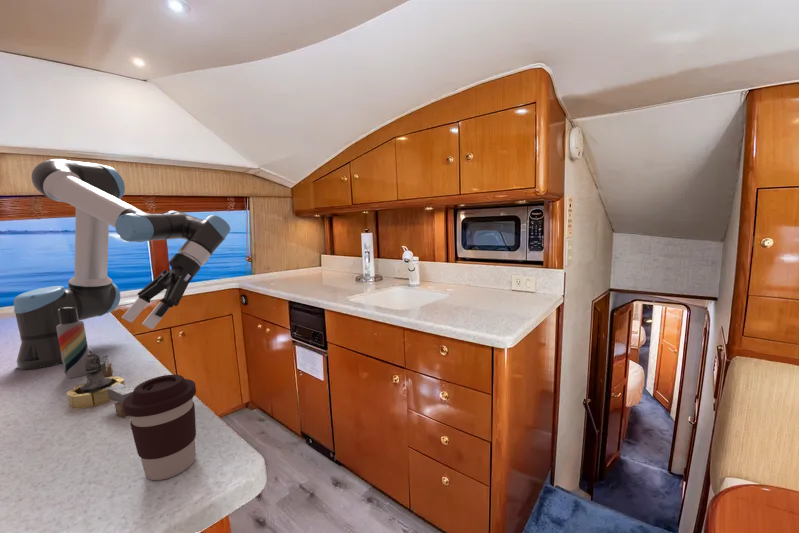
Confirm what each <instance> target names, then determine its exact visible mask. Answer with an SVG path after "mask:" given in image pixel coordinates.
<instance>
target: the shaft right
mask: <svg viewBox="0 0 799 533" xmlns="http://www.w3.org/2000/svg"><path fill="white" fill-rule="evenodd" d="M134 389H135V388H131V387H130V386H127V385H126V384H125V385H123V384H120V383H119V384H116V385H113V386H111V387H108V388H107V391H108V397H109V398H110V399H112V400H111V401H115V403H113V404H114V408H115V414H116V416H117V417H119V418H121V419H125V418H127V417H129V416H128V415H126V414H125V413H124V409H123V401H124V400H125V398H126V397H128V396H129V395H130V394H132V393H133V391H134Z"/></svg>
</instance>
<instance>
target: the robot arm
mask: <svg viewBox="0 0 799 533" xmlns="http://www.w3.org/2000/svg"><path fill="white" fill-rule="evenodd" d="M30 177H31V183H32V185H33V186H34V188H35V189H36V191H38V192H39V193H40V194H41V195H44V197H47V198H49V199H51V200H52V201H56V202H59V203H66V204H68V205H71V206H72V207H73V208H75V222H74V223H75V227H74V228H75V231H74V232H75V235H74V237H75V238H74V240H75V241H74V276H73V277H72V278H70V279H69V280H68V287H67V288H65V287H64V286H62V285H53V286H46V287H39V288H36V289H32V290H28V291H26V292H22V293H20V294H18V295H17V296H15V298H14V299H13V308H14V309H13V311H14V313H15V318H16V322H17V328H18V331H19V337H20V347H19V351H18V354H17V358H16V365H17V366H16V367H17V369H19V370H35V369H41V368H46V367H52V366H55V365H59V364H63V362H62V356H61V351H60V345H59V340H58V334H57V328H56V326H57V325H59V324H61V323H60V318H59V313H58V310H59V309H60V308H64V307H76V308H77V313H78V319H79V321H83V320H84V321H85V320H87V319H91V318H96V317H102V316H104V315H106V314H108V313H109V314H110V313H112V312H113V311H114V310H116V309H117V308H118V307H119V305H120V302H121V291H120V290H119V287H118V286H117V284H115V283H114V282H113V279H112V278H111V277H109V276H108V263H109V262H108V260H109V236H110V235H109V231H110V229H109V227H110V226H111V227H113V228H115V231H116V234H117V235H119V237H120V238H121V239H122V240H123V241H125V242H129V243H130V242H131V243H132V242H136V243H143V242H151V241H163V240H176V239H177V240H178V239H179V240H181V239H182V240H186V241H185V242H184V243H183V245H182V246H181V247H180V248H179V249H178V251H177V253H175V254H174V255H173V256H172V258H170V260H169V261H168V265H169V266H170V267H171V269H170V270H169V271H168V270H166V269H164V270H162V271H161V272H160V274H158V276H156V277H155V278H154V279H153V280H152V281H151V282H149V283H148V284H147V285H146V286H145V287H143V288H142V289H141V290H139V292H138V293H137V296H138V298H137V299H136V300H135V301H134V302H133V304H132V305H130V307H129V308H128V309H127V310H126V311H125V312H124V314H123V315H122V316H121V318H122V319H124V320H125V321H127V322H129V323H133V322H134V321H135V319H137V317H138V316H139V315H140V314H141V313H142V312H143V310H144V309H145V308H146V307H147V305H149V304H150V303H151V300H152V299H153V298H154V297H156V296H158V295H159V294H161V293H162V292H163V291H164V290H166V291H165V293H164V296H163V298H161V299H159V303H157V304H156V306H155V307H154V308H153V309H152V311H151V312H149V314H148V315H147V317H146V318H145V319H144V320H143V322H141V325H142V326H145V327H146V328H148V329H149V330H154V329H155V327H156V326H157V325H158V323H160V321H161V320H162V319H163V317H164V316H165V315H166V314H167V312H168V311H169V310H170V308H173V307H177V306H179V304H180V302H181V300H182V298H183V296H184V294H185V292H186V290H187V288H188V285H189V284H190V282H191V281H192V280H193V278H194V277H195V276H196V275H197V274H198V273H199V271H200V270H201V267H203V266H204V265H205V264H206V263H208V262H209V259H210V257H211V256H213V253H214V252H215V251H216V250H217V248H219V246H220V245H222V243H223V242H224V241H225V240H226V238H227V236H228V235H229V233H230V232H231V226H230V224H229V223H228V221H226V220H225V219H223V218H222V217H221V216H218V215H217V214H210V215H208V216H207V217H206V218H205V219H202V218H198V217H195V216H191V215H190V214H187V213H185V212H183V211H176V210H169V211H167V212H165V213H148V212H145V211H144V210H142V209H139V208H137V207H135V206H133V205H131V204H129V203H127V202H125V201H123V200H121V199H122V198H123V196H124V195H125V192H126V187H125V182H124V180H123V177H122V175H120V173H119V171H117V170H116V169H115V168H114V167H111V166H109V165H104V164H100V163H93V162H84V161H76V160H70V159H69V160H67V159H63V158H59V159H58V158H53V159H48V160H44V161H41V163H38V164H37V165H36V166H35V167H34V168H33V170H32V172H31V176H30Z"/></svg>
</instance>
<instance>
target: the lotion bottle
mask: <svg viewBox="0 0 799 533" xmlns="http://www.w3.org/2000/svg"><path fill="white" fill-rule="evenodd" d="M58 313H59V318H60V323H61V324H59V325H57V326H56V328H57V334H58V340H59V345H60V351H61V356H62V362H63V363H62V366H63V367H62V368H63V371H64V372H63V373H64V376H65V378H66V379H74V378H80V377H83V376H85V375H86V372H84V370H85V363H84V358H85V357H86V356H87V355H89V354H90V353H89V352H90V350H89V345H88V341H87V335H86V329H85V323H84V321H83V320H80V321H79V319H78V313H77V308H76V307H64V308H60V309H59V310H58Z"/></svg>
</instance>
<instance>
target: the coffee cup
mask: <svg viewBox="0 0 799 533" xmlns="http://www.w3.org/2000/svg"><path fill="white" fill-rule="evenodd" d="M133 389H134V391H133V393H132V394H130V395H129V396H128V397H126V398H125V400H124V401H123V409H124V413H125V414H126V415H128V416H127V417H129V418H130V422H129V426H130V428H131V433H132V437H133V440H134V444H135V447H136V452H137V456H138V457H139V458H140V461H141V465H142V469H143V472H144V475H145V477H146V478H147V479H149V480H152V481H162V480H163V481H164V480H166V479H171V478H174V477H176V476H178V475H180V474H181V473H183V472H185V471H186V470H187V469H188V468H190V466H191V465H193V463H194V461H195V460H196V455H197V454H196V451H197V450H196V436H197V429H196V428H197V427H196V425H197V424H196V411H195V410H196V407H195V406H196V405H195V402H194V397H195V395H196V393H197V388H196V383H195V381H193V380H192V379H188V378H184V376H183V375H182V374H164V375H159V376H156V377H153V378H149V379H148V380H145V381H143V382H141V383H139V384H138V385H136V386H135V387H134V388H133Z"/></svg>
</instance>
